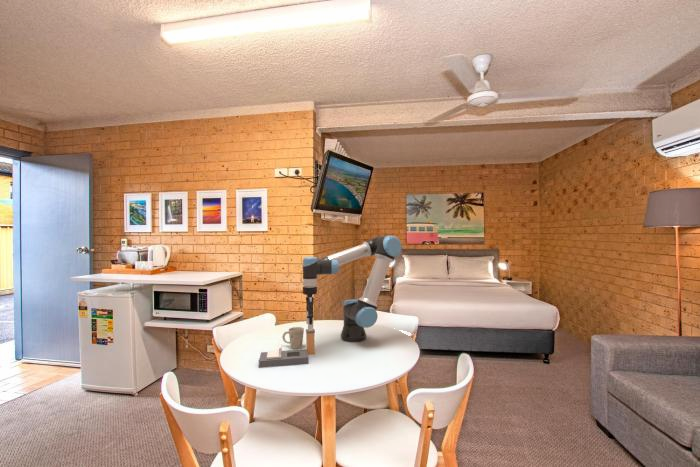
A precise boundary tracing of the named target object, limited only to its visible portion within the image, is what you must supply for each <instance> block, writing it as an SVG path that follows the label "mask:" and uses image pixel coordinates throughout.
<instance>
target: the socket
mask: <svg viewBox="0 0 700 467" xmlns="http://www.w3.org/2000/svg"><path fill="white" fill-rule="evenodd" d="M267 353H268V351H261V352H260V356H259V359H258V368H259V369H260V368H273V367H283V366H284V367H286V366H297V365H306V364H309V355H308V353H307V348H299V349H289V350H287V349H286V350H282V356H281V358H274V359H267Z"/></svg>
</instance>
